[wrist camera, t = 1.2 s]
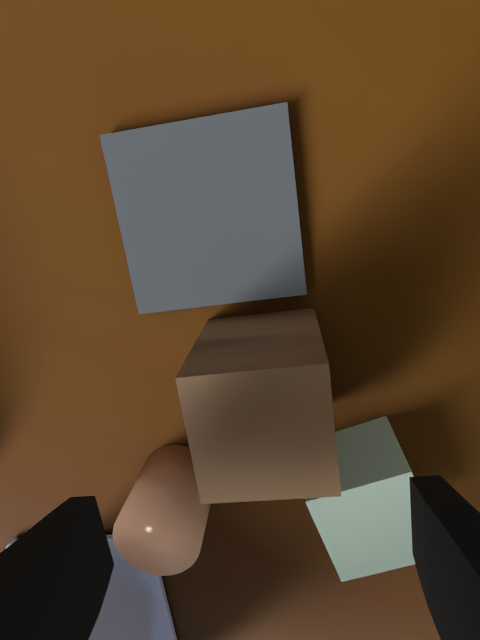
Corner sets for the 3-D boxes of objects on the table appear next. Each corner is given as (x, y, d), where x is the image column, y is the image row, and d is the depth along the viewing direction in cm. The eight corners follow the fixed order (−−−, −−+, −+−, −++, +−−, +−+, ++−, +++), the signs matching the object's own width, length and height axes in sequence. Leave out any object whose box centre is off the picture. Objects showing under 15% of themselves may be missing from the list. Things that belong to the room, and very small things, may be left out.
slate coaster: (306, 291, 18) (307, 294, 17) (143, 310, 18) (138, 314, 18) (287, 105, 16) (287, 101, 15) (106, 136, 17) (99, 134, 16)
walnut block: (323, 404, 19) (341, 496, 13) (224, 412, 20) (200, 504, 14) (314, 307, 18) (329, 363, 12) (208, 319, 18) (175, 377, 13)
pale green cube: (412, 486, 20) (443, 557, 16) (330, 509, 21) (341, 581, 17) (386, 415, 19) (411, 471, 15) (300, 441, 20) (305, 502, 16)
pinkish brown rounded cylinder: (221, 505, 21) (207, 574, 17) (151, 508, 22) (123, 577, 18) (209, 441, 20) (192, 500, 16) (136, 446, 21) (103, 505, 17)
